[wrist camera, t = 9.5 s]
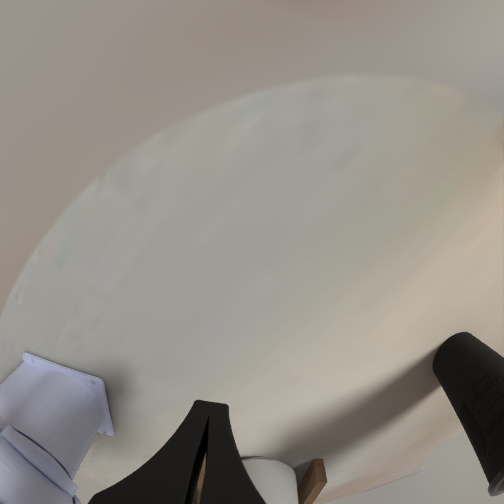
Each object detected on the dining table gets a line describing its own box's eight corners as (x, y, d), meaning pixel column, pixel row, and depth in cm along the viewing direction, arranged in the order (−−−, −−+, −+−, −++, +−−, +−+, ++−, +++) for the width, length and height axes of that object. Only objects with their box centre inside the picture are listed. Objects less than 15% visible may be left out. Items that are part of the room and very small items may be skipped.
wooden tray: (191, 494, 27) (188, 513, 24) (192, 449, 25) (187, 472, 22) (305, 502, 28) (307, 520, 25) (332, 459, 25) (336, 481, 22)
